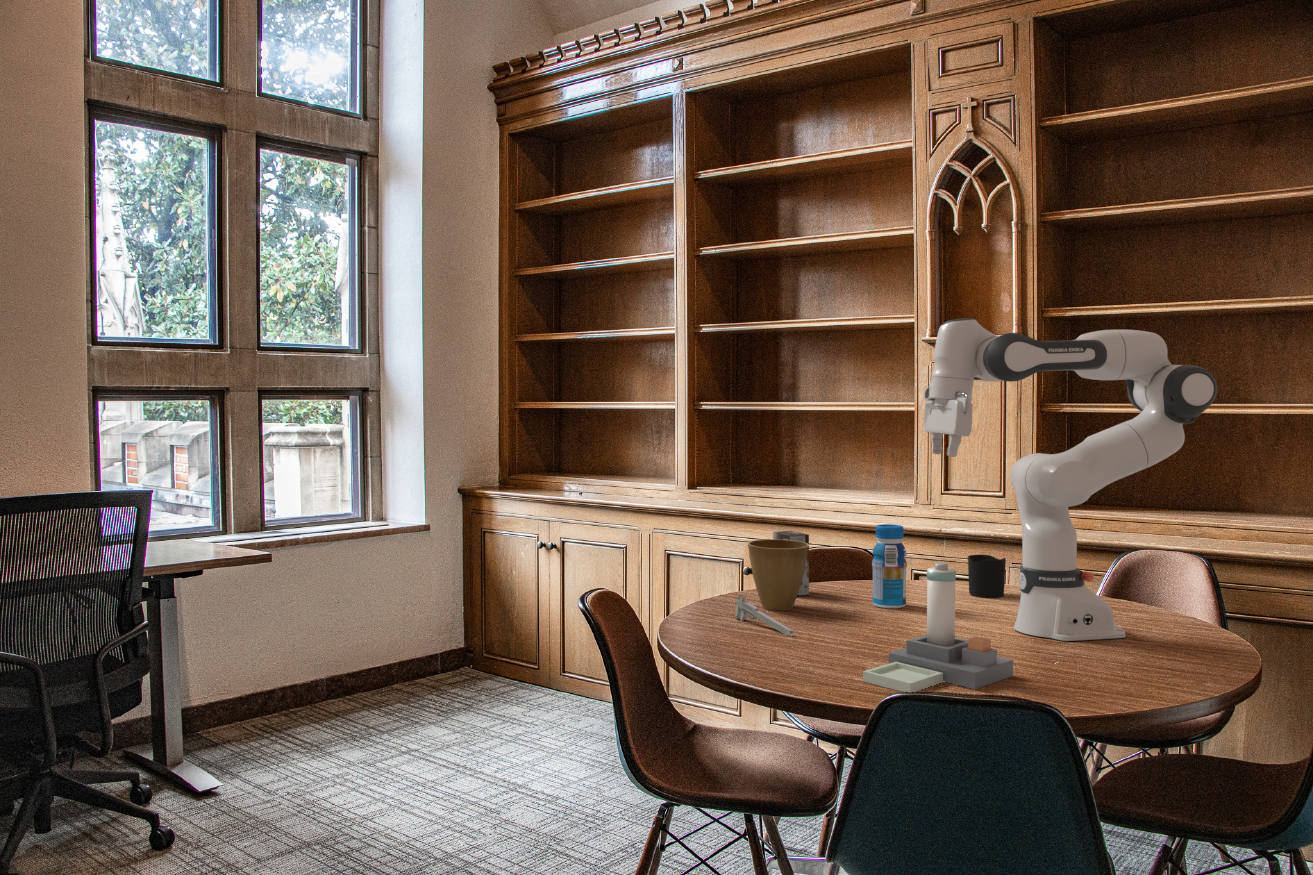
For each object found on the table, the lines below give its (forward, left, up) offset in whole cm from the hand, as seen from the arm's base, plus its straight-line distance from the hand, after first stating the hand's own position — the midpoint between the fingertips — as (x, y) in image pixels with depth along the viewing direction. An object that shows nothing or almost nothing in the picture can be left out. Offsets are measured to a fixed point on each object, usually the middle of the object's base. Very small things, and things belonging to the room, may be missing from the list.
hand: (943, 455), depth 208 cm
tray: (+19, +38, -39) cm, 58 cm away
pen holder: (-24, -41, -39) cm, 62 cm away
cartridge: (+10, +30, -36) cm, 48 cm away
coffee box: (+27, -45, -39) cm, 65 cm away
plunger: (+5, +36, -35) cm, 50 cm away
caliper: (+39, -5, -39) cm, 55 cm away
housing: (+9, +32, -39) cm, 51 cm away
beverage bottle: (+5, -28, -39) cm, 48 cm away
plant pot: (+33, -26, -39) cm, 57 cm away
